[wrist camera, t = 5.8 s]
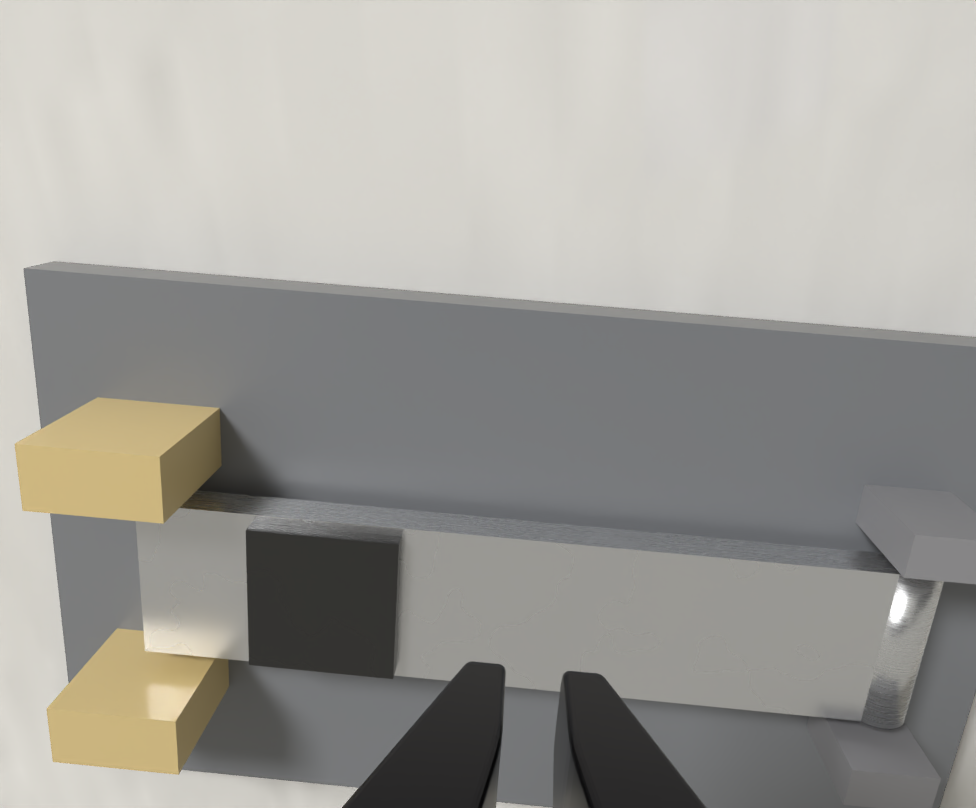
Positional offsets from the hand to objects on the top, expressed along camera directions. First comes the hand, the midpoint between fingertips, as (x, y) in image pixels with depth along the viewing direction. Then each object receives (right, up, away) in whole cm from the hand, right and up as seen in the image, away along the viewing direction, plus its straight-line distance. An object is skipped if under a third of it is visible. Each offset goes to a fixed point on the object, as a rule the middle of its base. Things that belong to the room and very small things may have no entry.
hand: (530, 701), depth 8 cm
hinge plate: (0, -1, +13) cm, 13 cm away
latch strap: (+1, -1, +11) cm, 11 cm away
